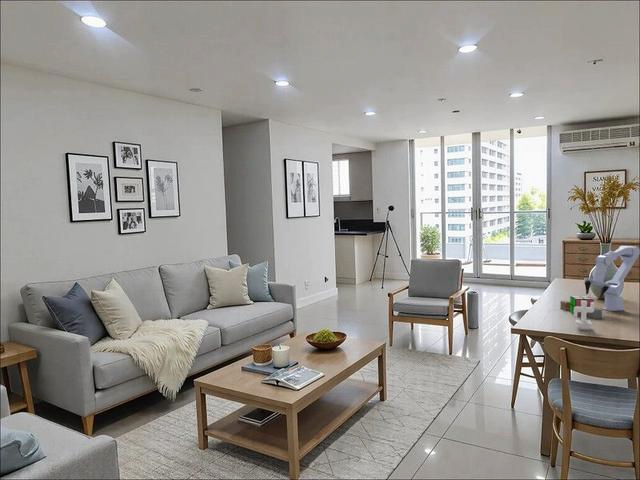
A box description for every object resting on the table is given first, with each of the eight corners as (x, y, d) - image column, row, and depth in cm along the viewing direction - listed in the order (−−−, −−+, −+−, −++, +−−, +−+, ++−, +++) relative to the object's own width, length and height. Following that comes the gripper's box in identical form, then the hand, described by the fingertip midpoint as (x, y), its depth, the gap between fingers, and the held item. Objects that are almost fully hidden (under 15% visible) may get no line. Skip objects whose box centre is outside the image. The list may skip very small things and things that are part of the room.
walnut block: (567, 308, 300) (567, 300, 300) (572, 310, 295) (572, 302, 295) (560, 308, 300) (560, 301, 299) (565, 310, 295) (565, 302, 294)
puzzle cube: (593, 315, 279) (593, 299, 278) (575, 315, 281) (575, 298, 280) (587, 312, 288) (587, 295, 288) (569, 311, 290) (570, 295, 290)
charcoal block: (596, 316, 277) (596, 308, 277) (601, 318, 272) (602, 309, 272) (588, 316, 276) (588, 308, 276) (593, 318, 271) (593, 310, 271)
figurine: (573, 326, 256) (573, 298, 255) (593, 327, 252) (593, 299, 251) (574, 329, 249) (574, 301, 248) (594, 330, 245) (595, 302, 244)
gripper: (588, 270, 285) (582, 291, 283) (614, 277, 281) (609, 299, 279) (585, 271, 291) (579, 292, 290) (610, 278, 287) (604, 299, 286)
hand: (593, 295), depth 285 cm, fingers open, 7 cm apart
